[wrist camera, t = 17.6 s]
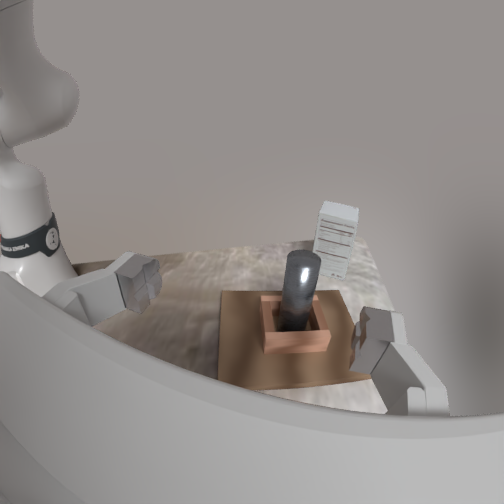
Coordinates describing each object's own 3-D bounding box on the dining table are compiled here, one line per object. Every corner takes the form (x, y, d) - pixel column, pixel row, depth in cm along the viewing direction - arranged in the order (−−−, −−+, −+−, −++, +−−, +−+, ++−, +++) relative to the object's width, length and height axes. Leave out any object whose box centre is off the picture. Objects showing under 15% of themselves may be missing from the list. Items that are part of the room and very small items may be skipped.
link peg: (278, 341, 36) (290, 268, 30) (275, 320, 39) (284, 249, 33) (307, 340, 36) (325, 268, 30) (302, 320, 39) (316, 250, 33)
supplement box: (315, 254, 58) (324, 199, 52) (347, 262, 56) (360, 207, 50) (307, 272, 53) (317, 211, 46) (344, 281, 50) (359, 221, 44)
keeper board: (217, 389, 30) (216, 371, 28) (222, 296, 45) (221, 275, 43) (371, 378, 31) (382, 359, 29) (337, 295, 47) (342, 276, 44)
